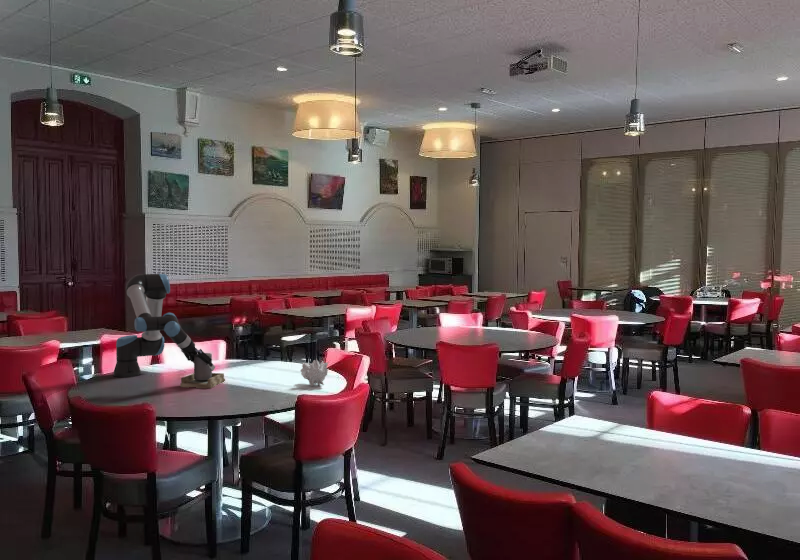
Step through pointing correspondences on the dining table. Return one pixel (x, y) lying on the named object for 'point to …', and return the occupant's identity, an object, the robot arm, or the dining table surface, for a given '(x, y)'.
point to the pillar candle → (202, 369)
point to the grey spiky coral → (314, 372)
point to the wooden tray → (202, 381)
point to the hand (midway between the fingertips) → (207, 368)
